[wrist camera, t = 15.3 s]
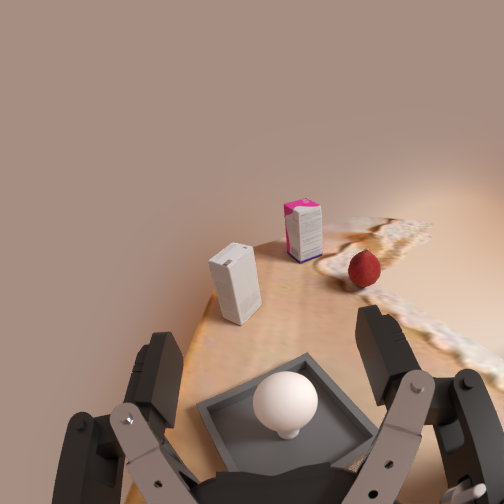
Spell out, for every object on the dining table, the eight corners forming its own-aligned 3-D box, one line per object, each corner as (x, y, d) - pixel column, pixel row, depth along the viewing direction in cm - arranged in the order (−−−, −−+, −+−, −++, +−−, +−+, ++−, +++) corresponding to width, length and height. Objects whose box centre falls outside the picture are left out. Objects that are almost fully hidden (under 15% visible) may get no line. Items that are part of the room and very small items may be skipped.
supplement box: (323, 255, 61) (322, 205, 55) (300, 264, 59) (296, 213, 53) (308, 244, 65) (306, 197, 60) (286, 252, 64) (281, 204, 58)
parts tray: (307, 363, 38) (307, 352, 37) (380, 443, 25) (385, 436, 24) (201, 413, 33) (196, 404, 32) (256, 516, 20) (253, 514, 19)
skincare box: (243, 298, 52) (231, 239, 46) (263, 306, 50) (254, 245, 44) (221, 319, 48) (205, 259, 42) (242, 328, 46) (228, 266, 40)
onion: (352, 298, 48) (355, 259, 44) (343, 279, 53) (345, 242, 49) (382, 293, 47) (388, 255, 43) (372, 275, 52) (375, 238, 48)
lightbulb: (270, 461, 25) (258, 424, 20) (256, 419, 31) (241, 369, 25) (322, 444, 26) (330, 400, 21) (304, 404, 32) (303, 351, 26)
